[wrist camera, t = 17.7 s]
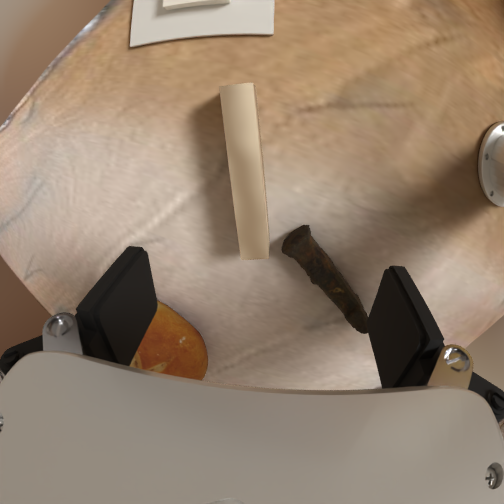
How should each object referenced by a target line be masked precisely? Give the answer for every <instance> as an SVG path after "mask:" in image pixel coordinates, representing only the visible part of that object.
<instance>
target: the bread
mask: <svg viewBox="0 0 504 504" xmlns="http://www.w3.org/2000/svg"><path fill="white" fill-rule="evenodd" d="M157 303H158V308H157V312H156V314H155V316H154V318H153V320H152V322H151V323H150V325H149V327H148V329H147V331H146V333H145V335H144V337H143V339H142V341H141V343H140V345H139V347H138V349H137V351H136V354H135V356H134V358H133V360H132V362H131V364H130V367H134V368H138V369H143V370H147V371H152V372H157V373H161V374H167V375H172V376H177V377H183V378H189V379H195V380H201V381H202V379H203V378H204V376H205V374H206V371H207V366H208V356H207V350H206V346H205V343H204V341H203V338H202V337H201V335H200V333H199V332H198V331H197V330H196V329H195V328H194V327H193V326H192V325H191V324H190V323H189V322H187V321H186V320H185V319H184V318H183V317H181V316H180V315H179V314H178V313H176V312H175V311H174V310H173V309H171V308H170V307H168V306H167V305H165V304H163V303H162V302H160V301H158V300H157Z"/></svg>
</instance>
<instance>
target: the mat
mask: <svg viewBox="0 0 504 504" xmlns="http://www.w3.org/2000/svg"><path fill="white" fill-rule="evenodd" d="M273 31H274V0H231V3H226V4H212V5H201V6H192V7H185V8H178V9H172V10H166V9H165V8H164V7H163V0H134V5H133V14H132V24H131V37H130V47H136V46H141V45H146V44H151V43H157V42H163V41H169V40H177V39H184V38H194V37H205V36H220V35H273Z"/></svg>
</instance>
